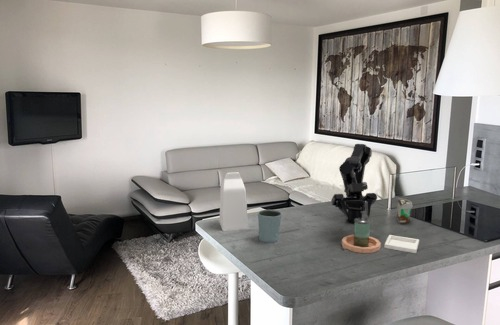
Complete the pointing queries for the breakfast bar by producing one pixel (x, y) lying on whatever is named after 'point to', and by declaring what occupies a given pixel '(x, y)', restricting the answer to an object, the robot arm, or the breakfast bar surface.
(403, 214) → the food container
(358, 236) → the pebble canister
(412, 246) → the tray
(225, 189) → the milk
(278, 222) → the blue-grey cup
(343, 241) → the bowl
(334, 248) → the breakfast bar surface
